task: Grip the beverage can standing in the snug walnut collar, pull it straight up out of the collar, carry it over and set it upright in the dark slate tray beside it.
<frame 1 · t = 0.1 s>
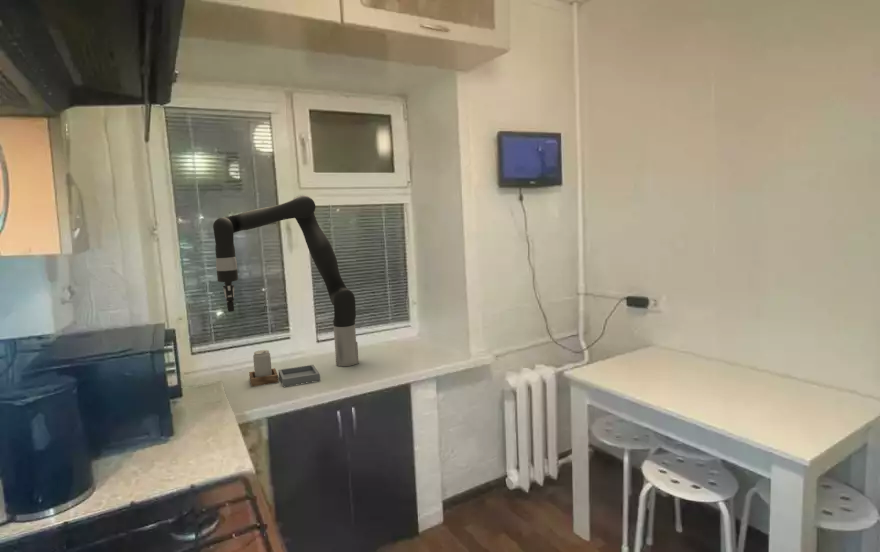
hand: (230, 309, 202), 29 cm above the countertop, tool pointing down, fingers open, 8 cm apart
tray: (299, 378, 205), on the countertop
collar: (263, 380, 205), on the countertop
beverage can: (263, 381, 205), resting in collar
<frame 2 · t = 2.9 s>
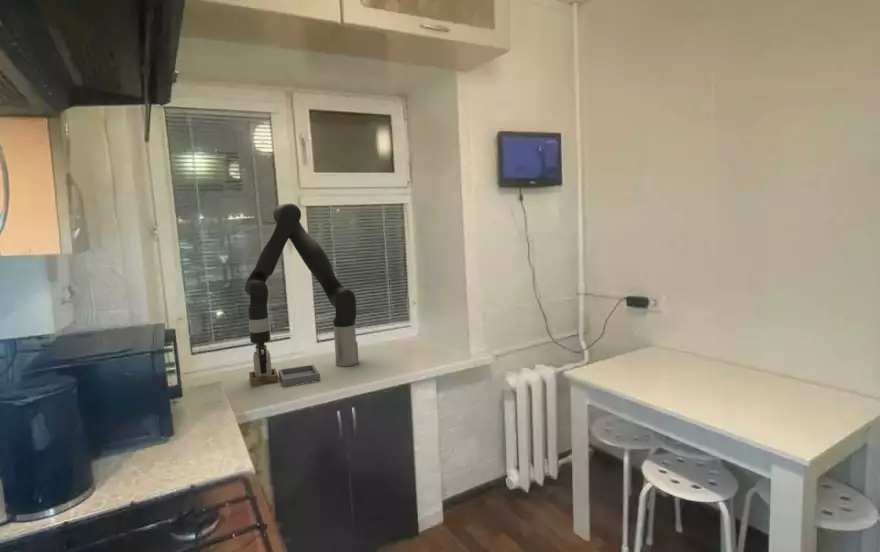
hand: (262, 370, 204), 4 cm above the countertop, tool pointing down, fingers closed on beverage can, 5 cm apart
beverage can: (263, 381, 205), resting in collar, touching gripper
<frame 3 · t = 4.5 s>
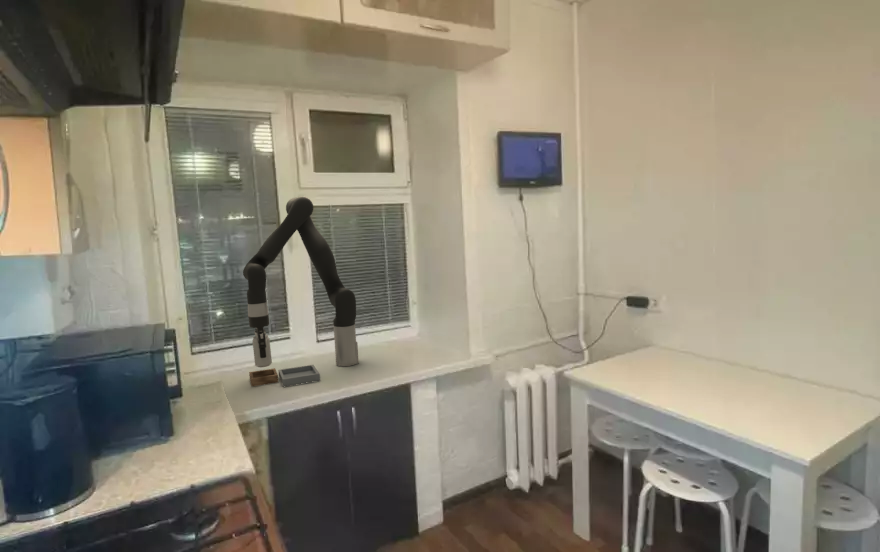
hand: (262, 355, 203), 10 cm above the countertop, tool pointing down, fingers closed on beverage can, 5 cm apart
beverage can: (263, 366, 204), point 6 cm above the countertop, touching gripper
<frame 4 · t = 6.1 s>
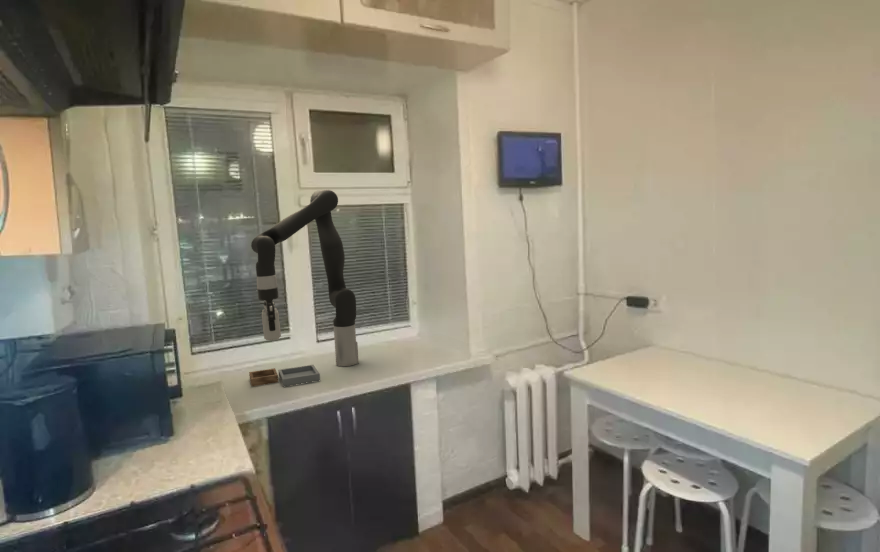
hand: (271, 328, 203), 21 cm above the countertop, tool pointing down, fingers closed on beverage can, 5 cm apart
beverage can: (272, 339, 203), point 16 cm above the countertop, touching gripper
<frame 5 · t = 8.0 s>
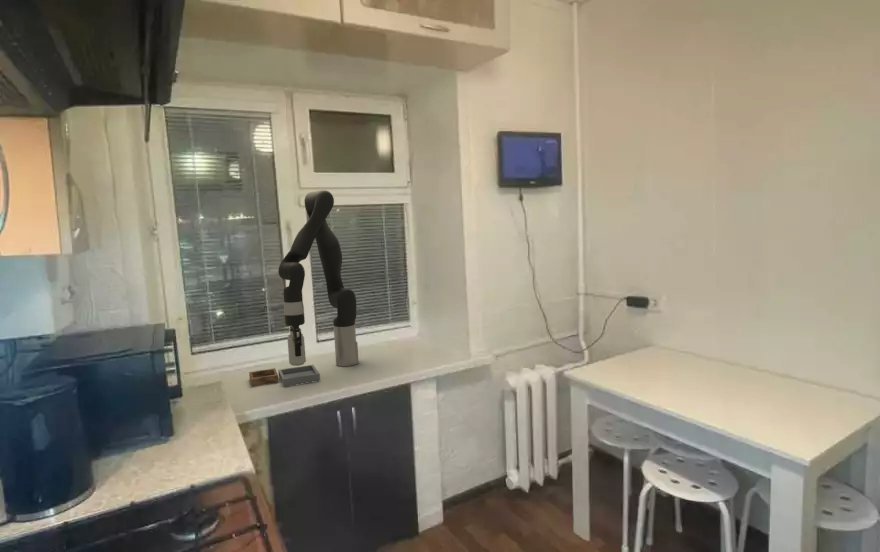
hand: (297, 354, 204), 10 cm above the countertop, tool pointing down, fingers closed on beverage can, 5 cm apart
beverage can: (297, 364, 205), point 6 cm above the countertop, touching gripper
when the fingers open (6 cm above the countertop, at t = 9.3 s): beverage can drops 1 cm, resting on tray.
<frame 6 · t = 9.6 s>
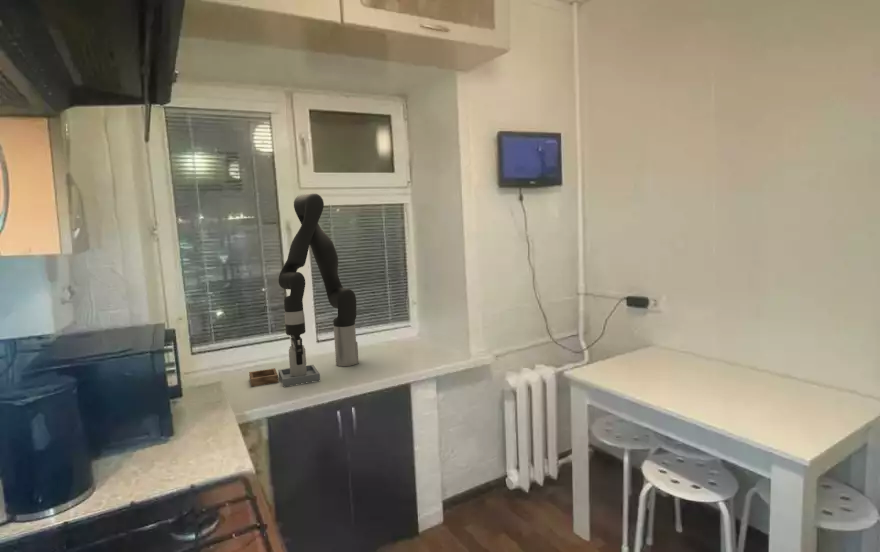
hand: (298, 361, 204), 7 cm above the countertop, tool pointing down, fingers open, 8 cm apart
beverage can: (298, 375, 206), point 1 cm above the countertop, touching gripper, tray
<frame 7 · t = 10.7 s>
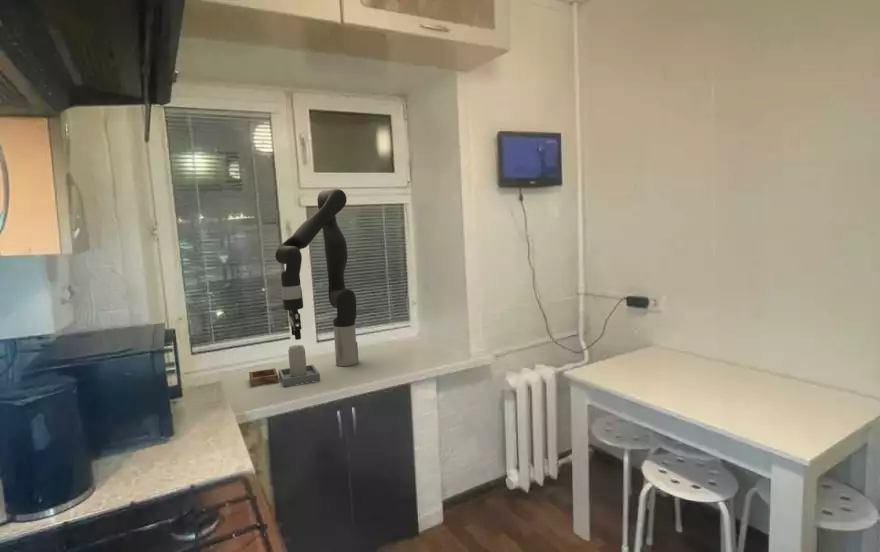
hand: (296, 337, 203), 17 cm above the countertop, tool pointing down, fingers open, 8 cm apart
beverage can: (298, 376, 206), point 1 cm above the countertop, touching tray
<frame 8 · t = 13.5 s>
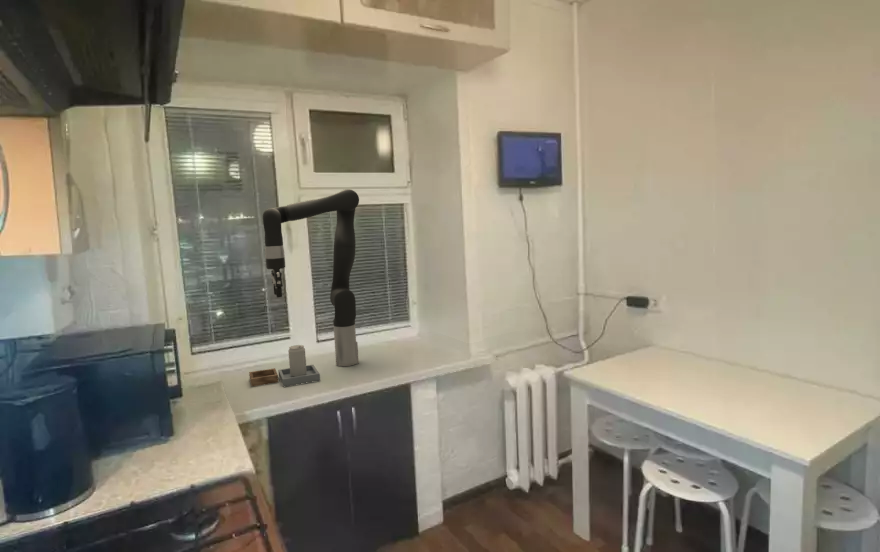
hand: (278, 295, 213), 32 cm above the countertop, tool pointing down, fingers open, 8 cm apart
nothing on the countertop moved.
at the end: beverage can 1.3 cm off-centre on the tray, point 0.8 cm above the tray's base; beverage can tilted 0°; the gripper is holding nothing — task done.
